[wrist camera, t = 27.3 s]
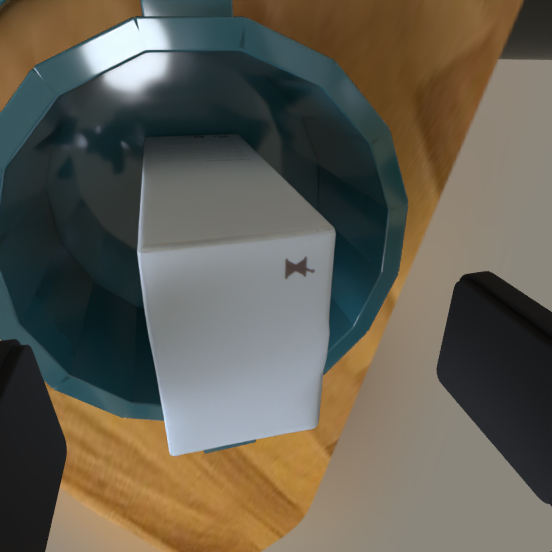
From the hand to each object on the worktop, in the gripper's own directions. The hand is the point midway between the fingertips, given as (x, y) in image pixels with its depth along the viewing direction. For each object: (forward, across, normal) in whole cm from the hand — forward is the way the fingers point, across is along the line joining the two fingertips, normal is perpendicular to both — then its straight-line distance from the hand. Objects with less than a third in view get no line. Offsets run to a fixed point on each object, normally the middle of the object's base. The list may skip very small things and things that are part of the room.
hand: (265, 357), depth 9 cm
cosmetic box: (+12, +1, 0) cm, 13 cm away
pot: (+13, +1, 0) cm, 13 cm away
